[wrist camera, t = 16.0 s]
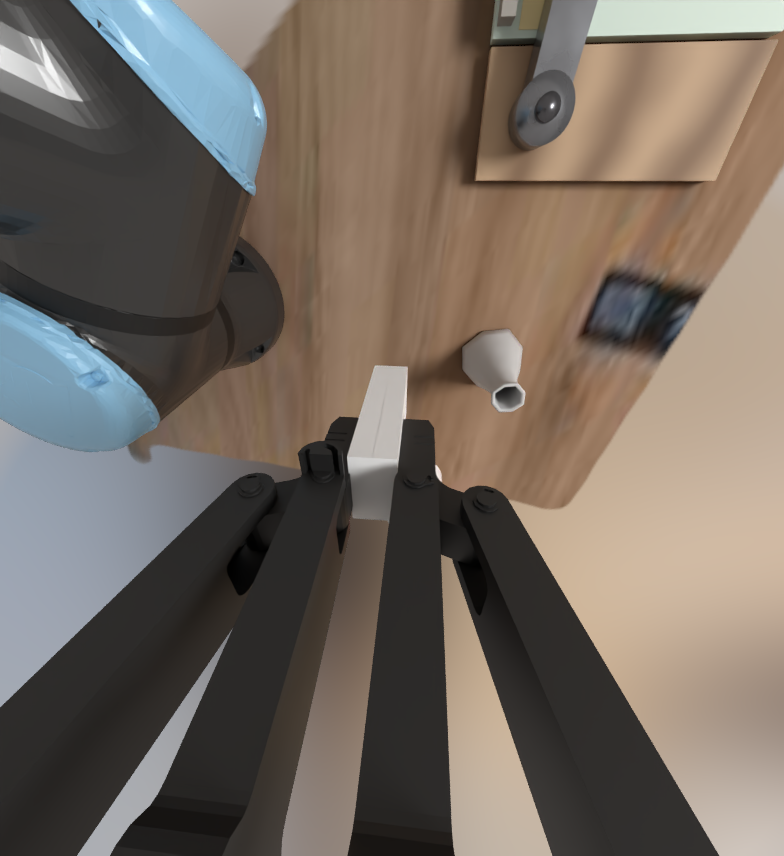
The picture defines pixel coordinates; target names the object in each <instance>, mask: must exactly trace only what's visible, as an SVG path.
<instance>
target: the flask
mask: <svg viewBox="0 0 784 856" xmlns="http://www.w3.org/2000/svg"><path fill="white" fill-rule="evenodd" d="M522 349H523V347H522V346H521V344H520V343H519V342H518V340H517V339H516V338H515V336H514V335H513V334H512V332H511V331H510V330H509V329H502V330H490V331H482V332H481V333H480V334H479V335H477V336H476V337H475V338H473V339H472V340H471V341H470V342H468V343H467V344H466V345H465V346H463V347H462V370H463V371H464V372H465V373H466V374H467V375H468V376H469V378H470V379H471V380H472V381H473V382H474V383H475V384H476V385H477V386H478V387H480V388H483V389H485V390H487V391H488V392H490V393H491V404H492V405H493V406H494V407H495V408H496V410H497V411H498V412H513V411H514V410H516V409H517V408H519V407H521V406H522V405H524V399H525V391H524V390H523V389H522V387H521V386H520V385H519V384H518V383H517V378H518V375H519V372H520V367H521V358H522Z"/></svg>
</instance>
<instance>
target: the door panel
mask: <svg viewBox="0 0 784 856" xmlns="http://www.w3.org/2000/svg"><path fill="white" fill-rule="evenodd" d="M544 1H545V0H495V7H494V15H493V24H492V32H491V41H490V45H514V44H534V42H535V38H536V34H537V30H538V26H539V21H540V17H541V13H542V9H543V5H544ZM783 29H784V0H598V1H597V5H596V8H595V11H594V15H593V18H592V21H591V24H590V28H589V31H588V34H587V38H586V41H585V43H593V42H632V41H672V40H711V39H751V38H769V37H771V36H773V35H776V34H778V33H780V32H782V31H783Z"/></svg>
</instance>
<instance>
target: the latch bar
mask: <svg viewBox="0 0 784 856" xmlns="http://www.w3.org/2000/svg"><path fill="white" fill-rule="evenodd" d="M597 1H598V0H545V1H544V5H543V9H542V13H541V17H540V21H539V26H538V30H537V34H536V38H535V42H534V46H533V50H532V54H531V58H530V63H529V67H528V71H527V75H526V79H525V83H524V87H523V91H522V92H521V93H520V94H519V96H518V97H517V98H516V100H515V101H514V103H513V105H512V108H511V110H510V114H509V118H508V131H509V136H510V138H511V140H512V142H513V143H514V145H515V146H517V147H518V148H519V149H522V150H527V151H529V150H534V149H537V148H539V147H541V146H543V145H546V144H548V143H550V142H552V141H553V140H555V139H556V138H557V137H558V136H559V135H561V133H562V132H563V131H564V130H565V128H566V127H567V125H568V124H569V122H570V120H571V117H572V115H573V111H574V107H575V99H576V97H575V88H574V85H573V81H574V77H575V74H576V71H577V68H578V64H579V61H580V58H581V54H582V51H583V48H584V44H585V41H586V38H587V34H588V31H589V28H590V24H591V21H592V18H593V15H594V11H595V8H596V5H597Z"/></svg>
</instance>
